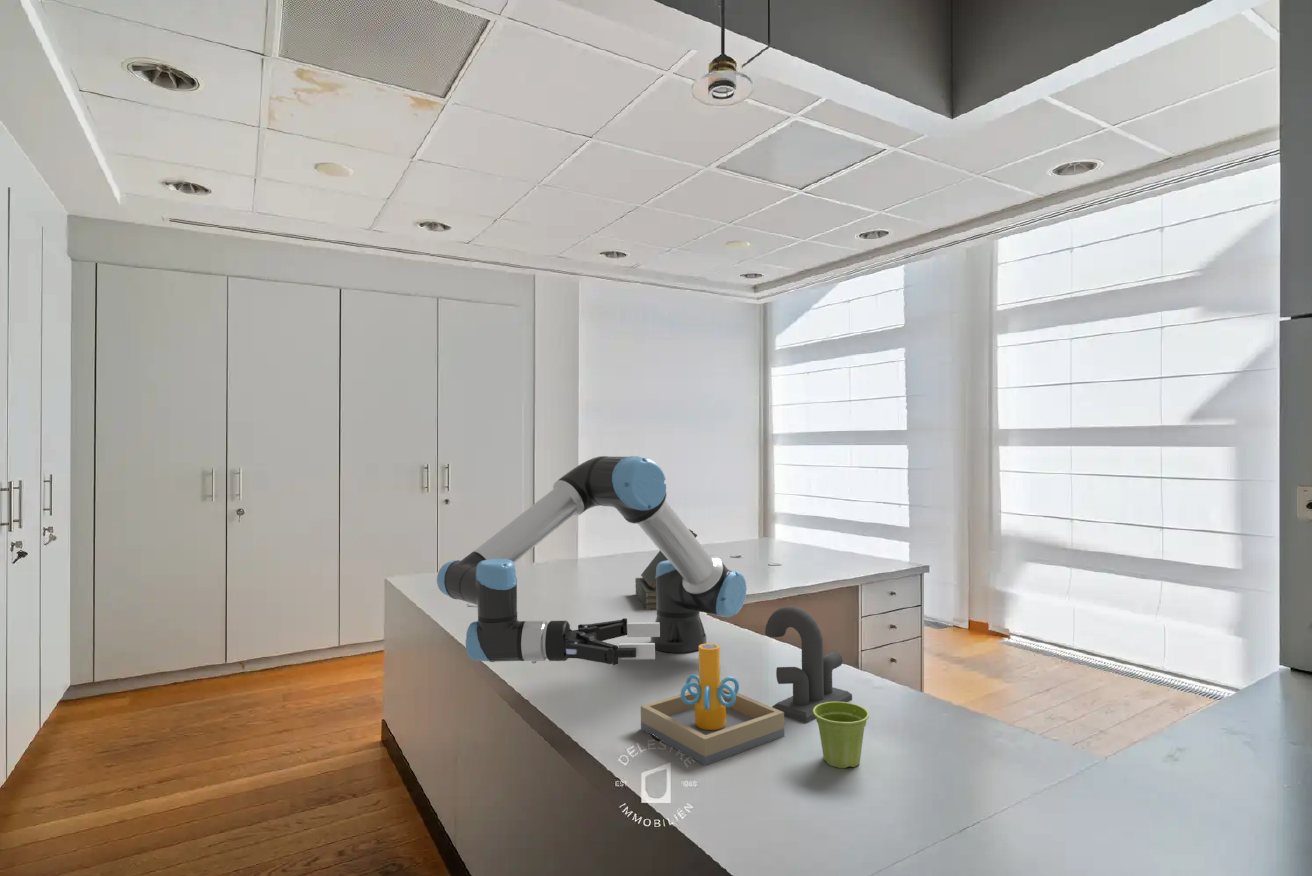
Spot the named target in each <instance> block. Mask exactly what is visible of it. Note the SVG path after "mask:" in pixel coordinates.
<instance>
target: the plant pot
mask: <svg viewBox="0 0 1312 876" xmlns="http://www.w3.org/2000/svg"><path fill="white" fill-rule="evenodd" d="M813 713H814V715H815V716H816V720H815V721H816V722H817V726H818V731H819V737H820V742H821V743H820V744H821V749H822V750H821V751H822V756H823V760H824V761H825V762H826V763H827V765H829V766H831V767H834V768H838V769H847V768H850V767H852V768H855V767H857V766H859V765H860V762H861V755H862V748H863V742H864V741H863V740H864V732H865V727H866V726H867V721H868V719H869V718H870V713H869V710H868V709H866V708H865V707H864V706H861V705H858V704H856V703H852V702H849V701H848V702H825V703H821V704H818V705H817V706H815V707H814V709H813Z"/></svg>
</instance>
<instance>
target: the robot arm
mask: <svg viewBox="0 0 1312 876" xmlns="http://www.w3.org/2000/svg"><path fill="white" fill-rule="evenodd" d="M663 471H664V470H662V468H661V467H660V466H659V464H658V463H656V462H655V460H654V461H653V460H652V459H650V458H647V457H643V456H638V455H632V456H631V455H630V456H605V455H603V456H602V455H601V456H596V457H592V458H590V459H588V460H585V461H584V462H582V463H579V465H577V466H576V467H574V468H573V469H571V470H570V471H568V472H567V473H565V474H563V475H562V476H561V477H560V478H559V479H557V480H556V481H555V482H554V483H553V485H552V490H550V491H549V492H548V493H547V494H545V495H544V496H543V497H542V498H540V499H539V500H538V501H536V502H535V503H534V504H533V505H531V506H529V507H528V508H527V509H526V510H525V511H524V512H522V513H521V514H520V515H518V516H517V517H515V518H514V519H512V521H510V522H509V523H508V524H506V525H505V526H504V527H502V528H501V529H500V530H499V531H498V532H497V533H495V534H494V535H492V536H491V537H490V538H488V539H487V540H486V541H485V542H483V543H482V544H481V545H479V546H478V547H477V548H476V549H474V550H473V551H471V552H470V553H469V554H468V555H467V556H465V557H464V558H463V559H461V560H458V559H457V560H450V561H448V562H446V563H444V564H443V565H442V566H441V567H440V569H439V571H438V573H437V576H436V584H437V587H438V589H439V591H440V592H441V593H443V594H444V595H445V596H447V597H449V598H451V599H453V600H459V601H463V602H467V603H470V604H473V605H475V606H477V621H472V622H471V623H470V624H469V625H468V627H467V630H466V634H465V635H466V637H465V638H466V639H465V650H466V654H467V657H468V658H469V659H470V660H472V661H476V662H477V661H478V662H489V663H495V662H531V663H532V664H537V662H539V661H540V662H541V661H542V662H543V661H544V662H545V661H546V660H548V661H549V662H566V661H568V659H580V660H585V661H591V662H596V663H602V664H608V665H613V666H614V665H615V666H618V665H619V660H655V659H656V650H657V651H659V652H660V651H661V652H667V653H676V654H677V653H678V654H679V653H691V652H696V651H699V645H701V644H706V643H708V642H707V635H706V631H705V628H704V624H703V622H702V619H701V615H700V613H704V614H710V615H713V616H717V617H719V618H721V617H723V618H731V617H733V616H734V617H735V616H736V615H737V614H738V613H739V612H740V611H741V609H742V608H743V606H744V603H745V601H746V597H747V589H748V588H747V582H746V581H747V580H746V578H745V576H744V575H743V573H741V572H740V571H737V570H730V569H729V568H728V567H726V565H725V564H724V562H723V561H722V560H721V559H720V558H719V557H718V556H716V555H712V554H710V555H709V553H708V552H707V551H706V549H705V548H704V547H703V546H702V544H701V543H700V542H699V540H698V539H697V537H696V538H695V537H694V535H693V534H692V533H691V532H690V530H691V529H690V528H688V526H687V525H686V524H685V522H683V521H682V519H681V518H680V516H679V515H678V514H677V512H676V511H675V510H674V509H673V508H672V506H671V505H670V503H669V502H668V501H667V498H668V497H667V496H668V493H667V484H666V483H665V481H666V476H665V473H664V472H663ZM599 506H602V507H611V508H615V509H616V510H617V511H618V512H619V514H620V515H621V516H622V517H623V518H624V519H625V521H627V522H628V523H629V524H633V525H634V524H638V526H639V527H640V528H641V530H642V531H643V533H645V534H646V536H648V537H649V539H650V540H651V541H652V543H654V545H655V546H656V548H658V550H659V551H661V552H662V553H663V554H664V556H665V557H666V558H667V559H668V560H666V561H662V562H660V563H659V564H658V565H657V567H656V576H655V579H656V606H657V609H656V617H655V621H654V622H628V618H626V617H625V618H622V619H618V620H617V619H615V620H610V621H602V622H595V623H585V624H584V623H583V624H578V625H577V629H574V630H572V629H571V625H570V623H569V622H568V621H567V620H550V621H549V622H548V621H547V620H522V621H521V620H519V619H518V600H517V599H518V595H517V594H518V592H517V591H518V586H517V585H518V578H517V571H516V562H518V560H520V559H521V558H522V557H523V556H525V555H526V554H527V553H528V552H529V551H531V550H532V549H533V548H534V547H536V546H537V545H538V544H539V543H541V542H542V541H543V540H544V539H545V538H547V537H548V536H549V535H550V534H553V532H554V531H555V530H557V529H558V528H559V527H560V526H561V525H563V524H564V523H566V522H567V520H569V519H570V518H571V517H573V516H581V515H582V514H583V513H585V511H587V510H588V509H591V508H594V507H599ZM689 529H690V530H689ZM625 636H627V638H650V642H645V643H644V642H642V643H641V642H638V643H637V642H633V643H631V642H627V643H625V642H624V643H622V642H621V643H619V644H618V645H616V644H614V643H610V642H606V641H608V640H612V639H617V638H621V637H625Z"/></svg>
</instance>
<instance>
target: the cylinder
mask: <svg viewBox="0 0 1312 876" xmlns="http://www.w3.org/2000/svg"><path fill="white" fill-rule="evenodd" d="M720 650H721V649H720V645H719V644H717V643H708V642H707V643H706V644H701V645H699V650H698V675H697V674H694V673H693V674H690V675H688V676H687V679H686V681H685V683H686V684H685V685H683V687H682V688H681V690H680V694H679V695H681V700H682V701H683V702H684V703H685V704H687V705H693V704H695V725H696V726H697V727H698V728H700V729H704V730H718V729H721V728H723V727H725V725H726V707H731V706H733V705H734V703H735V700H736V696H735V695H736V694H737V693H739V690H740V685H739V681H738V680H737V679H736V677H734V676H726V677H724V678H723V679H721V656H720V655H721V651H720ZM693 679H695V681H696V682H694V681H691V680H693ZM730 681H731V682H732V683H734V689H733V687H732V686H731V685H729V684H727V682H730ZM692 687H693V688H695V690H697V693H696V692H694V690H693V689H692ZM723 688H726V689H728V690H729V692H730V693H731V694H729V695H726V694H725V693H724V692H723ZM686 690H687V691H688V692H689V693H690V694H691V695H692V696H695V697H696V698H695V699H694V700H692V701H688V700H686V698H685V693H686ZM723 698H725V699H731V702H729V703H727V702H725V701H724V699H723Z"/></svg>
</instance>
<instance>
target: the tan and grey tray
mask: <svg viewBox="0 0 1312 876" xmlns="http://www.w3.org/2000/svg"><path fill="white" fill-rule="evenodd" d="M693 691H694V692H696V693H697V689H695V690H693ZM723 692H724V693H725V694H726V695H729V694H731V693H730V692H729V690H728V689H726V688H723ZM735 696H736V700H735V703H734V705H733V706H731V707H726V725H725V727H723V728H721V729H718V730H704V729H700V728H698V727H697V726H696V725H695V704H693V705H687V704H685V703H684V702H683V701H682V700H681V695H680V694H677V695H674V696H671V697H667V698H664V699H660V700H657V701H653V702H651V703H646V704H643V705H640V729H641V730H642V729H643V730H642V731H644V732H645V731H646V732H645V733H647V732H648V733H647V734H649V735H651V734H654V735H655V736H657V737H658V738H659V739H658V738H657V739H658V740H660V741H661V742H663V743H665V744H666V745H668V746H670V747H673V748H674V749H675V750H677V751H679V752H681V753H682V754H684V755H686V756H688V757H690V758H692V759H693V760H695V761H696V762H699V763H700V764H702V765H704V766H707V765H710V764H712V763H715V762H718V761H721V760H723V759H726V758H729V757H732V756H734V755H737V754H740V753H742V752H745V751H748V750H750V749H751V750H752V749H753V748H756V747H759V746H761V745H765V744H766V743H770V742H772V741H775V740H777V739H781V738H783V737H785V716H784V712H782V711H780V710H777V709H775V708H773V707H772V706H770V705H768V704H765V703H763V702H761V701H759V700H755V699H753V698H751V697H748V696H746V695H744V694H742V693H739V692H738V693H737V694H736V695H735ZM685 698H686V700H688V701H692V700H694V699H695V698H696V697H695V696H692V695H691V694H690V693H689V691H688V692H685ZM723 699H724V701H725V702H727V703H729V702H731V699H725V698H723Z"/></svg>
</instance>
